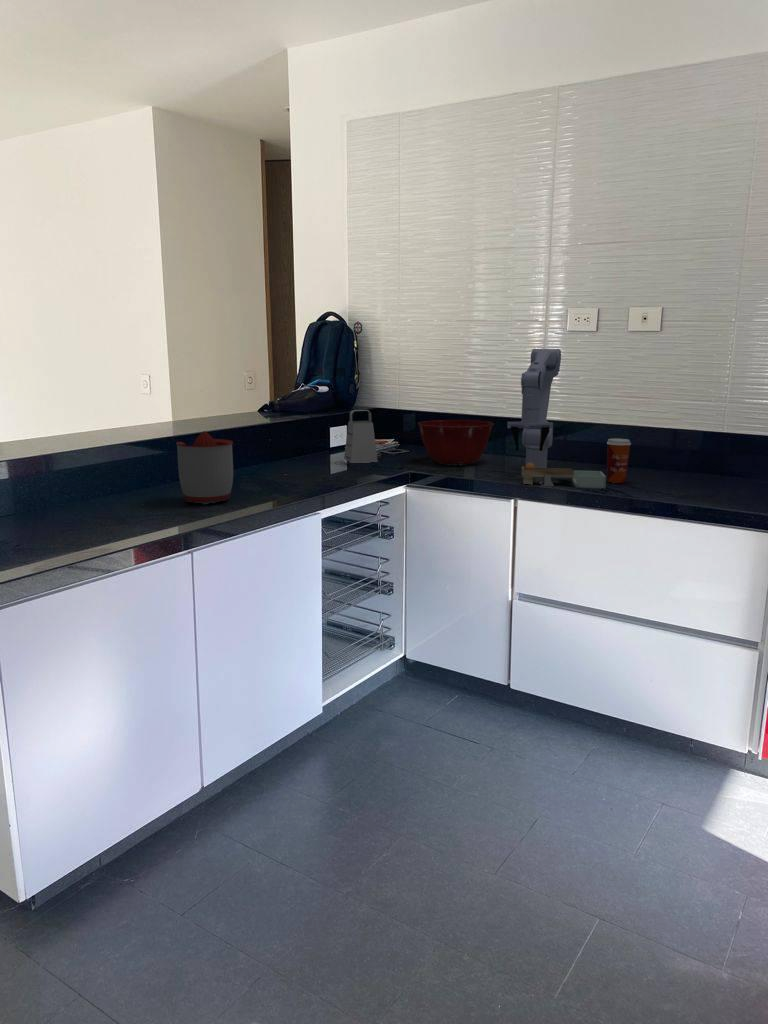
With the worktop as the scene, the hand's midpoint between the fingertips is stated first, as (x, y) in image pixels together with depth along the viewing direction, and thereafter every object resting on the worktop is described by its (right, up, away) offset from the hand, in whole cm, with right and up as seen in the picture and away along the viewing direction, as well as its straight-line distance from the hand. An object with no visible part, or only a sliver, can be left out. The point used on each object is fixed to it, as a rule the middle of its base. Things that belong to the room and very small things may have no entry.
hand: (528, 450), depth 245 cm
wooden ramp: (+5, -10, -1) cm, 12 cm away
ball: (-1, -8, -5) cm, 9 cm away
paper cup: (+29, -11, -1) cm, 30 cm away
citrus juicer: (-99, -17, -32) cm, 105 cm away
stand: (+5, -11, -5) cm, 13 cm away
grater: (-56, -2, +35) cm, 67 cm away
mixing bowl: (-21, -2, +38) cm, 43 cm away
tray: (+18, -12, -6) cm, 22 cm away
